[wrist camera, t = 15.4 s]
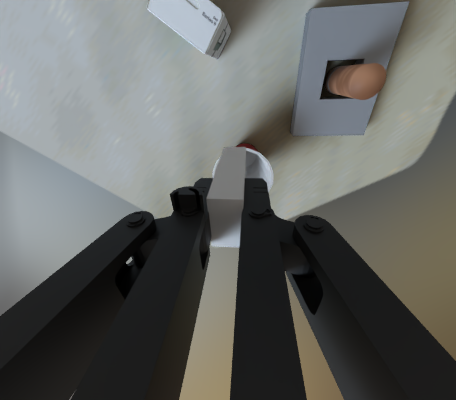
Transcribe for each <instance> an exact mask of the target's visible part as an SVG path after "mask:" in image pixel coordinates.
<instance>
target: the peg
mask: <svg viewBox="0 0 456 400" xmlns="http://www.w3.org/2000/svg"><path fill="white" fill-rule="evenodd" d="M385 81H386V70H385V68H384V67H383V66H382V65H381V64H378V63H370V64H359V65H343V66H338V67H335V68H333V69H331V70H330V71H329V72H328V74H327V75H326V77H325V80H324V86H325V89H326V90H327V91H328V92H330V93H333V94H336V95H342V96H346V97H350V98H354V99H359V100H366V99H369V98H372V97H373V96H375V95H376V94H377V93H378V92H379V91H380V90H381V89H382V87H383V85H384V83H385Z"/></svg>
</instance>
